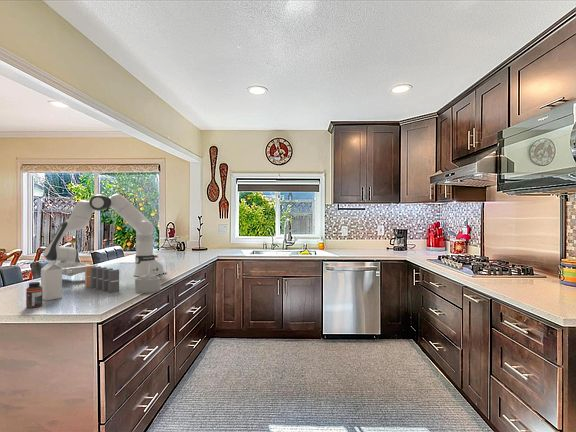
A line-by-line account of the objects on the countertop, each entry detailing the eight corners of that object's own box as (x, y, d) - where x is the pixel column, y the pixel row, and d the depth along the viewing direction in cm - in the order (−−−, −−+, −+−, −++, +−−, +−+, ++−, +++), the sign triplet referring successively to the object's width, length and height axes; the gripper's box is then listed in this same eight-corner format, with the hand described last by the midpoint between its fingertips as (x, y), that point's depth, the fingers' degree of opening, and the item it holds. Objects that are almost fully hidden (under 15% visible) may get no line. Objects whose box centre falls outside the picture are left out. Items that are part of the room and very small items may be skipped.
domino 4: (108, 292, 182) (108, 270, 182) (117, 290, 186) (117, 269, 186) (110, 292, 181) (110, 270, 181) (119, 291, 185) (119, 269, 185)
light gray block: (144, 288, 194) (144, 273, 194) (164, 289, 191) (164, 274, 191) (132, 292, 183) (132, 276, 183) (153, 293, 181) (153, 277, 181)
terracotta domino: (85, 286, 197) (85, 266, 197) (93, 285, 201) (93, 265, 201) (86, 286, 196) (86, 266, 196) (95, 285, 200) (95, 265, 200)
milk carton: (45, 301, 163) (45, 262, 163) (40, 298, 168) (40, 261, 168) (62, 298, 169) (62, 261, 169) (56, 296, 173) (57, 259, 173)
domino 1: (90, 287, 193) (90, 267, 193) (99, 286, 197) (99, 266, 197) (92, 288, 192) (92, 267, 192) (101, 286, 196) (101, 266, 196)
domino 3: (102, 290, 186) (102, 269, 186) (111, 289, 190) (111, 268, 190) (104, 291, 185) (104, 269, 185) (112, 289, 189) (113, 268, 189)
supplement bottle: (23, 307, 152) (24, 282, 152) (39, 304, 157) (39, 280, 157) (29, 309, 149) (29, 284, 149) (44, 306, 154) (44, 282, 154)
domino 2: (96, 289, 189) (96, 268, 189) (105, 287, 194) (105, 267, 194) (98, 289, 188) (98, 268, 188) (106, 288, 192) (107, 267, 192)
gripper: (51, 265, 204) (61, 267, 196) (86, 262, 221) (97, 263, 213) (51, 276, 204) (61, 278, 196) (86, 271, 221) (97, 273, 213)
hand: (80, 270), depth 205 cm, fingers open, 8 cm apart
